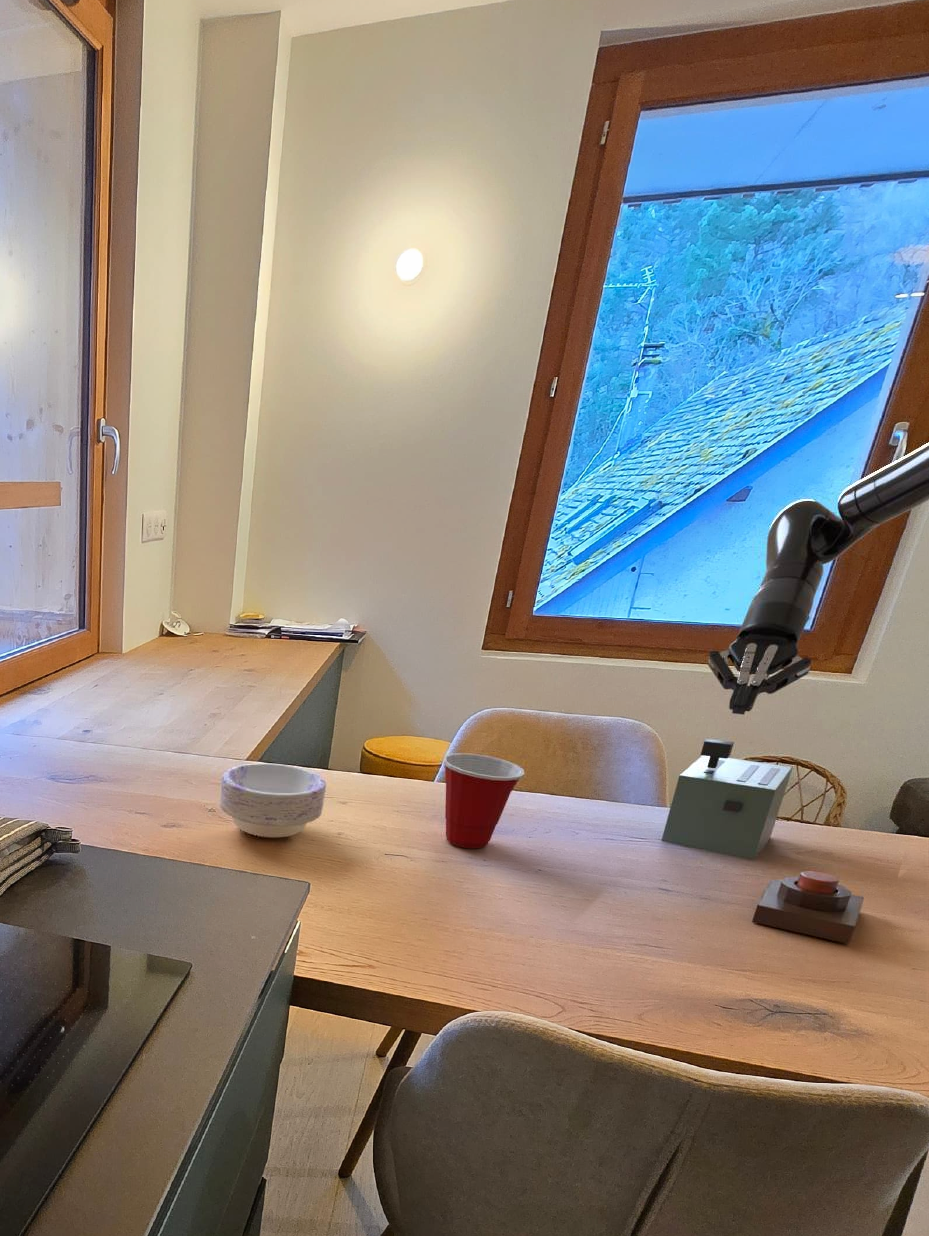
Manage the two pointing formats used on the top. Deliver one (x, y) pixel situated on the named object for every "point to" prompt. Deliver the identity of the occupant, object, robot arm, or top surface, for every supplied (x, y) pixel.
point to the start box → (809, 910)
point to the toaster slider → (716, 751)
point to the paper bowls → (271, 798)
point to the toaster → (726, 806)
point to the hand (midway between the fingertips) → (738, 710)
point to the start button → (818, 882)
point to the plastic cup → (476, 796)
